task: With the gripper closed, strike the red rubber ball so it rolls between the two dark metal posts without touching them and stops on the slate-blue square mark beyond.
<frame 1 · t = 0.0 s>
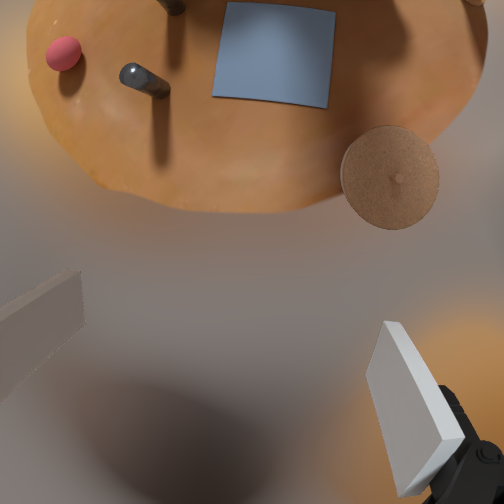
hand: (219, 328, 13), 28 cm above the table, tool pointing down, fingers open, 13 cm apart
post 2: (160, 89, 36), on the table
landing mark: (275, 49, 34), on the table
lidded jar: (374, 174, 37), on the table
ball: (63, 53, 33), on the table
post 1: (176, 8, 33), on the table
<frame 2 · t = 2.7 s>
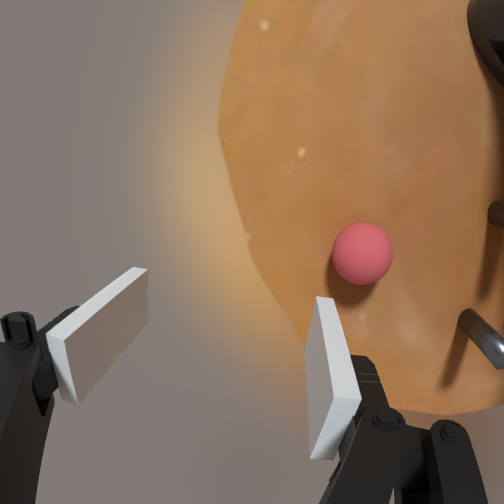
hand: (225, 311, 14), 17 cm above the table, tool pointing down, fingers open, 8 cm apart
post 2: (466, 318, 31), on the table
ball: (362, 253, 27), on the table
post 1: (496, 212, 27), on the table
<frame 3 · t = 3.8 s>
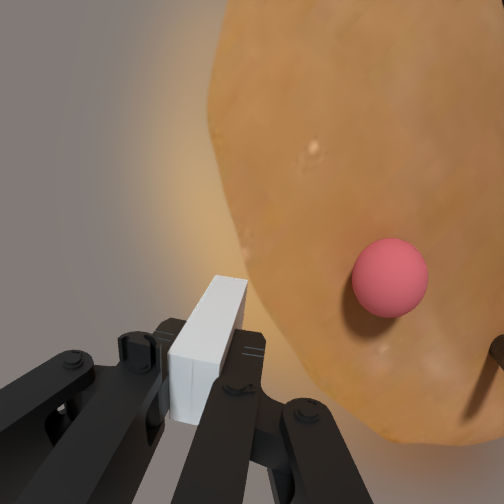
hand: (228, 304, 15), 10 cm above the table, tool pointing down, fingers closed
post 2: (499, 345, 24), on the table
ball: (390, 278, 21), on the table
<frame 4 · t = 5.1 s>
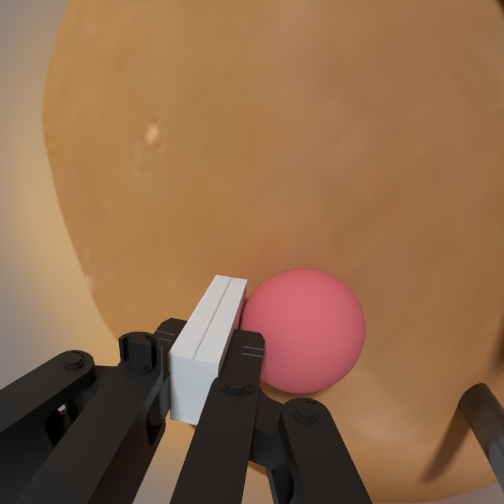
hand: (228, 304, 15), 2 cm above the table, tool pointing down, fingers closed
post 2: (473, 397, 17), on the table
ball: (302, 331, 14), on the table
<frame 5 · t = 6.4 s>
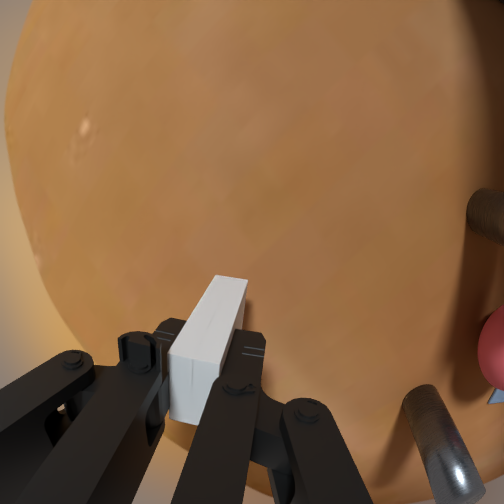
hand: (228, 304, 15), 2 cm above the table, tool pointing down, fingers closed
post 2: (420, 399, 18), on the table
post 1: (484, 211, 14), on the table
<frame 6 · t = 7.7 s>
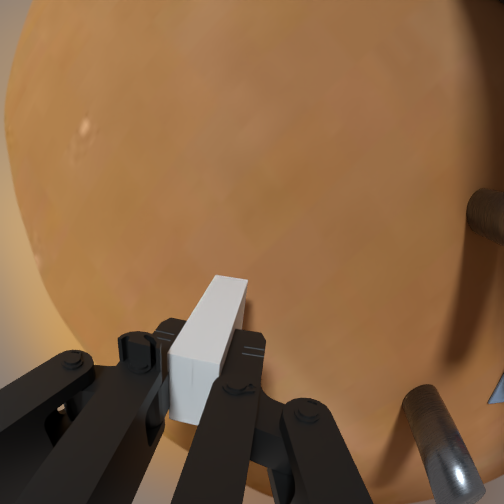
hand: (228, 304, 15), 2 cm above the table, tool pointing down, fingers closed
post 2: (420, 399, 18), on the table
post 1: (484, 211, 14), on the table
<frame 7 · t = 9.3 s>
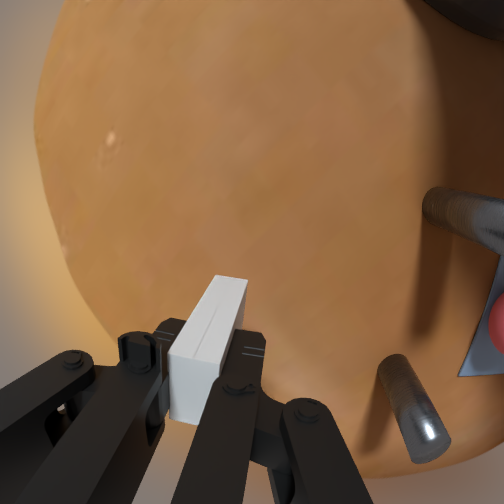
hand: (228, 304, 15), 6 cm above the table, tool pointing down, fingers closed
post 2: (393, 367, 22), on the table
post 1: (438, 206, 19), on the table
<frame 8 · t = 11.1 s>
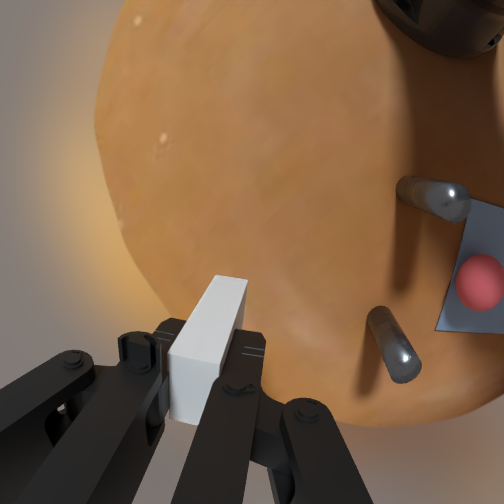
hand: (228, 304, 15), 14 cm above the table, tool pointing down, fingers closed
post 2: (379, 317, 30), on the table
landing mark: (501, 274, 27), on the table
ball: (481, 282, 25), on the table
post 1: (408, 190, 26), on the table
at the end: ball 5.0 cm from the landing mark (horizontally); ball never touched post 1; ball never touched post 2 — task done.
